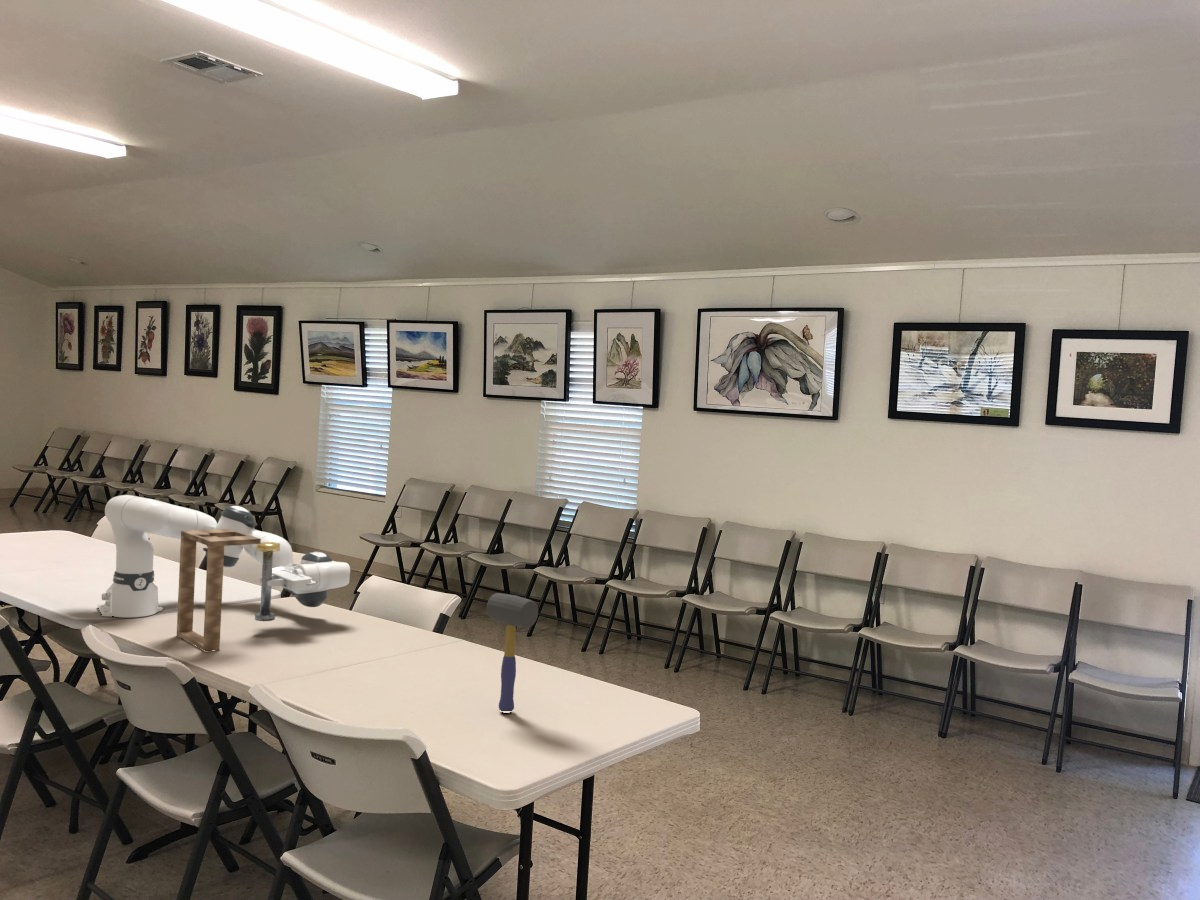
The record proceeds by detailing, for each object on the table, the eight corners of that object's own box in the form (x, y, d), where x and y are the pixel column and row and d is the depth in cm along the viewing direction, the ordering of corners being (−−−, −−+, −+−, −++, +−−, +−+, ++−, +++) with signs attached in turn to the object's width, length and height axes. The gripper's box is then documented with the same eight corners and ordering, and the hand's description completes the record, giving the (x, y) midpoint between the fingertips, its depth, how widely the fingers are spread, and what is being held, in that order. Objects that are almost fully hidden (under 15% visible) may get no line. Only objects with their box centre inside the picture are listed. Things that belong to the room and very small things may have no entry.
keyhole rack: (224, 629, 300) (229, 528, 299) (255, 645, 285) (260, 538, 283) (176, 635, 290) (181, 531, 288) (205, 652, 274) (210, 541, 273)
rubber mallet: (477, 710, 239) (484, 593, 238) (497, 703, 245) (504, 589, 244) (514, 722, 232) (522, 601, 230) (534, 715, 238) (541, 597, 236)
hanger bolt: (249, 618, 298) (252, 542, 297) (270, 615, 303) (273, 541, 302) (259, 622, 293) (262, 546, 292) (280, 620, 298) (284, 544, 297)
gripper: (320, 593, 299) (278, 597, 290) (289, 582, 314) (249, 585, 304) (320, 573, 299) (279, 577, 289) (290, 563, 313) (250, 566, 304)
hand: (263, 581), depth 297 cm, fingers closed on hanger bolt, 3 cm apart
